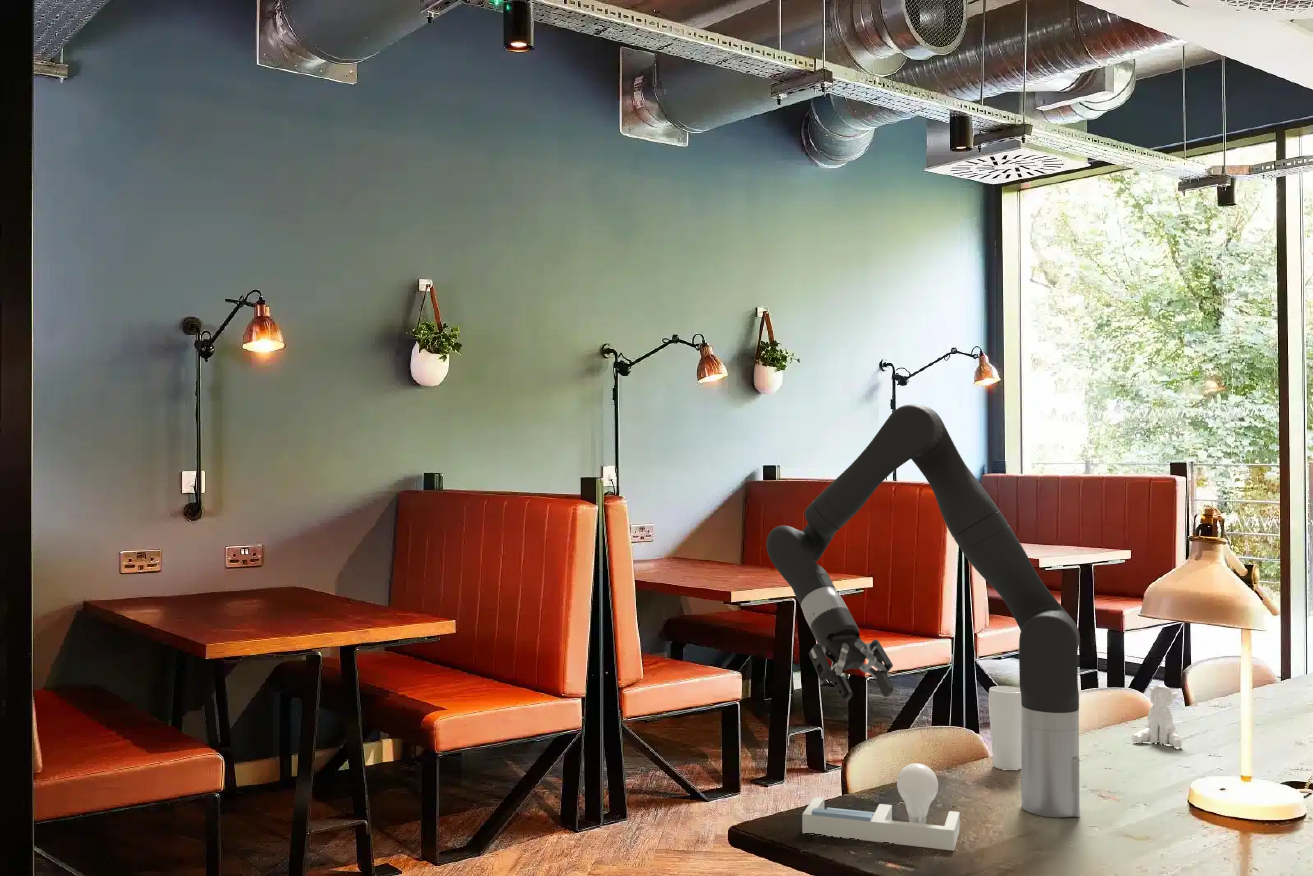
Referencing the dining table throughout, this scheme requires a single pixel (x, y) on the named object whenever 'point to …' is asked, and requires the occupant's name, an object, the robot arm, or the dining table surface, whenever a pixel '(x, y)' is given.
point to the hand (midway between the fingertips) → (869, 696)
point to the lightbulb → (917, 790)
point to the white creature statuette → (1160, 719)
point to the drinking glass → (1005, 726)
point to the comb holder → (879, 826)
